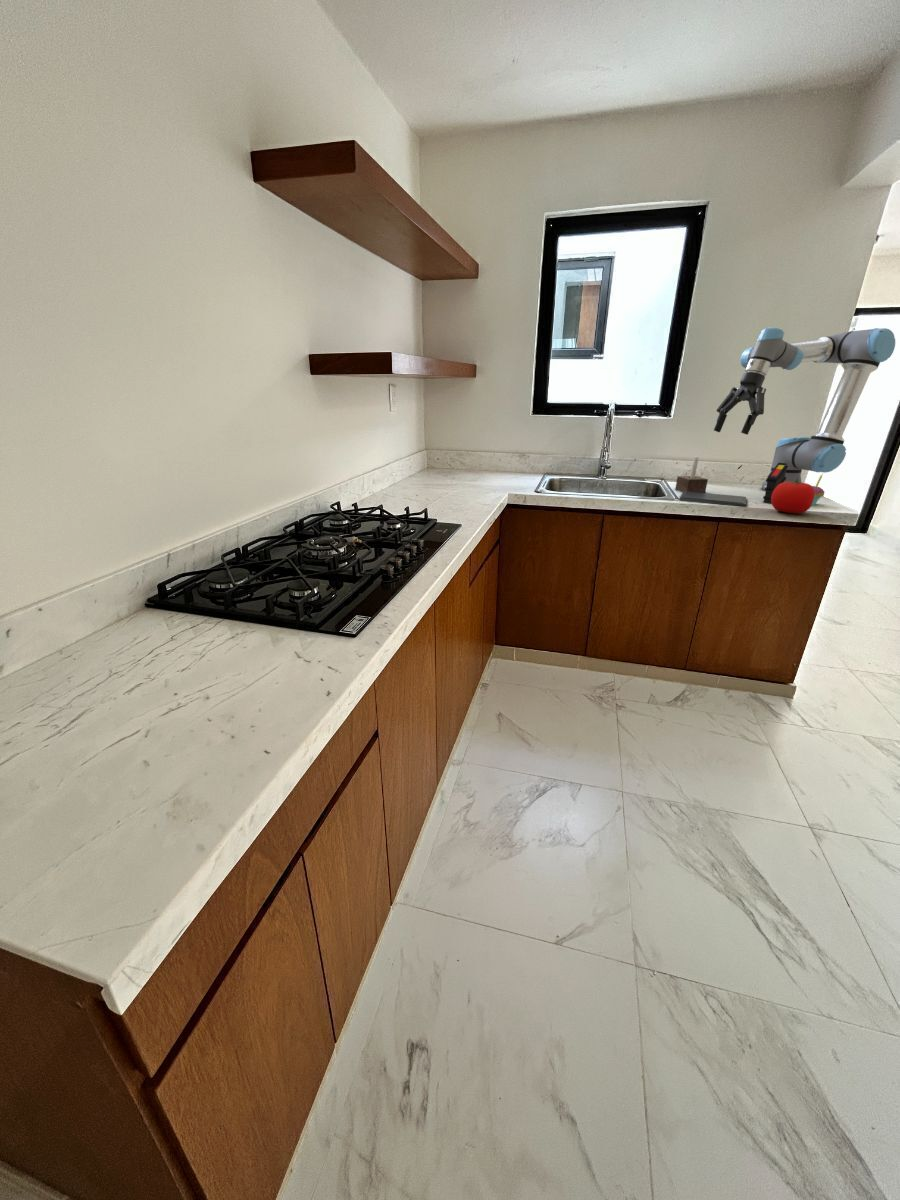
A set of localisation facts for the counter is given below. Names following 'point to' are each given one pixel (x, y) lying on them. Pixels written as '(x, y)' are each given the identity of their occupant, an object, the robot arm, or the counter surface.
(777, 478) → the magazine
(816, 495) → the cupcake
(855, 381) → the robot arm
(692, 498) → the plate
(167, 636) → the counter surface
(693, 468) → the stylus
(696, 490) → the pen block
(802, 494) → the tomato
